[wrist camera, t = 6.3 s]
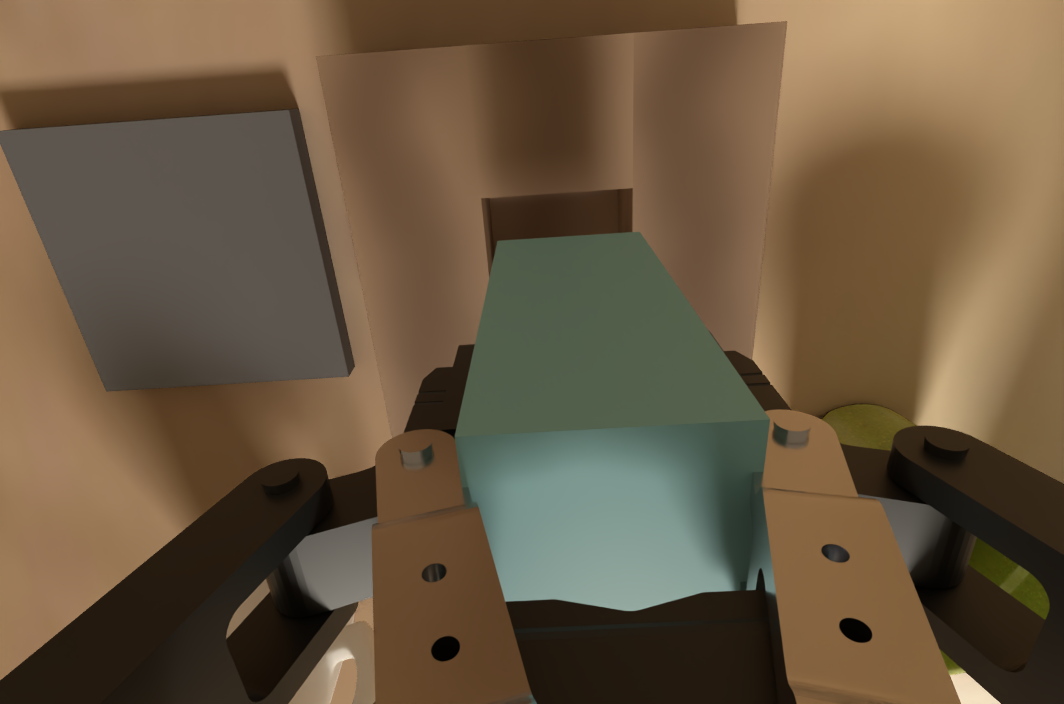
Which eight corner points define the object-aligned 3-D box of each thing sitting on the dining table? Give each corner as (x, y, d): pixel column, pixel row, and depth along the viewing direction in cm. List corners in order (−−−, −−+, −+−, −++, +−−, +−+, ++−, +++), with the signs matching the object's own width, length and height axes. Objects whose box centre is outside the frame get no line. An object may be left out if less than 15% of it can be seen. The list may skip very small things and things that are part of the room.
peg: (639, 231, 16) (770, 419, 7) (638, 360, 18) (743, 641, 9) (497, 241, 17) (454, 436, 8) (509, 367, 18) (485, 652, 9)
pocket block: (737, 31, 21) (787, 21, 17) (712, 373, 27) (745, 425, 23) (356, 60, 22) (315, 56, 18) (413, 391, 28) (393, 446, 24)
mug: (279, 658, 35) (169, 916, 25) (216, 581, 33) (61, 832, 22) (431, 616, 34) (386, 870, 23) (378, 532, 31) (299, 775, 20)
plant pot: (763, 374, 27) (857, 495, 20) (967, 365, 27) (1145, 482, 19) (742, 530, 31) (814, 682, 24) (921, 522, 31) (1053, 673, 23)
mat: (298, 108, 22) (288, 110, 21) (354, 366, 27) (348, 376, 26) (16, 129, 23) (-6, 131, 22) (120, 381, 27) (106, 391, 26)
